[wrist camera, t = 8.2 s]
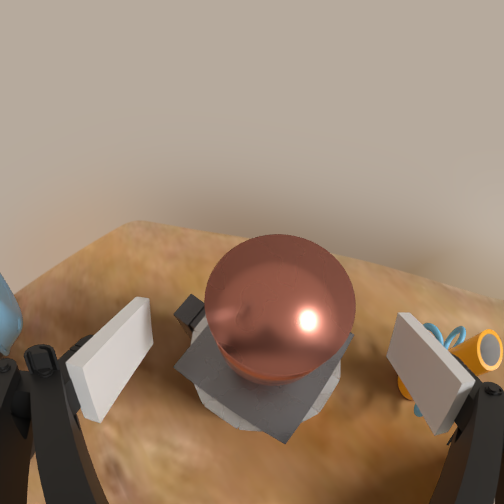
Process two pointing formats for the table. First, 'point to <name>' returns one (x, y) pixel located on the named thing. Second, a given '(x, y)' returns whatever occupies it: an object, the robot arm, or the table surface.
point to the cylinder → (467, 353)
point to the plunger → (279, 308)
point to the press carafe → (250, 383)
